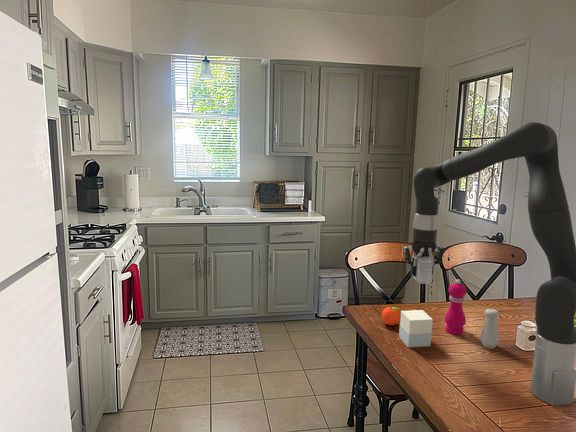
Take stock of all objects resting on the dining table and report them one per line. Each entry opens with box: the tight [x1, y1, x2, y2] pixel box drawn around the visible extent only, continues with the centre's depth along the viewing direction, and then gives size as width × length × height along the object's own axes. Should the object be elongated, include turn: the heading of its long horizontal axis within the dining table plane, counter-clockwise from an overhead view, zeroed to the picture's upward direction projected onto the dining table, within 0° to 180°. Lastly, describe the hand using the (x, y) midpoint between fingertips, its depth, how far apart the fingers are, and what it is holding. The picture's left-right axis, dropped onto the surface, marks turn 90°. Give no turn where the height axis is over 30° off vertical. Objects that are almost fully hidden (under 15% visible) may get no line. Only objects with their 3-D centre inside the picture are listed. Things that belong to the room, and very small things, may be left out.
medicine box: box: [411, 255, 433, 285], centre depth 137 cm, size 8×4×9 cm, turn 179°
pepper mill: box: [444, 279, 467, 336], centre depth 148 cm, size 7×7×20 cm
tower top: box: [399, 309, 434, 334], centre depth 141 cm, size 8×8×5 cm
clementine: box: [381, 306, 401, 326], centre depth 155 cm, size 8×7×7 cm
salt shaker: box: [479, 308, 500, 350], centre depth 138 cm, size 6×6×13 cm
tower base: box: [398, 323, 432, 348], centre depth 142 cm, size 8×8×5 cm
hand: (421, 275), depth 138 cm, fingers closed on medicine box, 4 cm apart
